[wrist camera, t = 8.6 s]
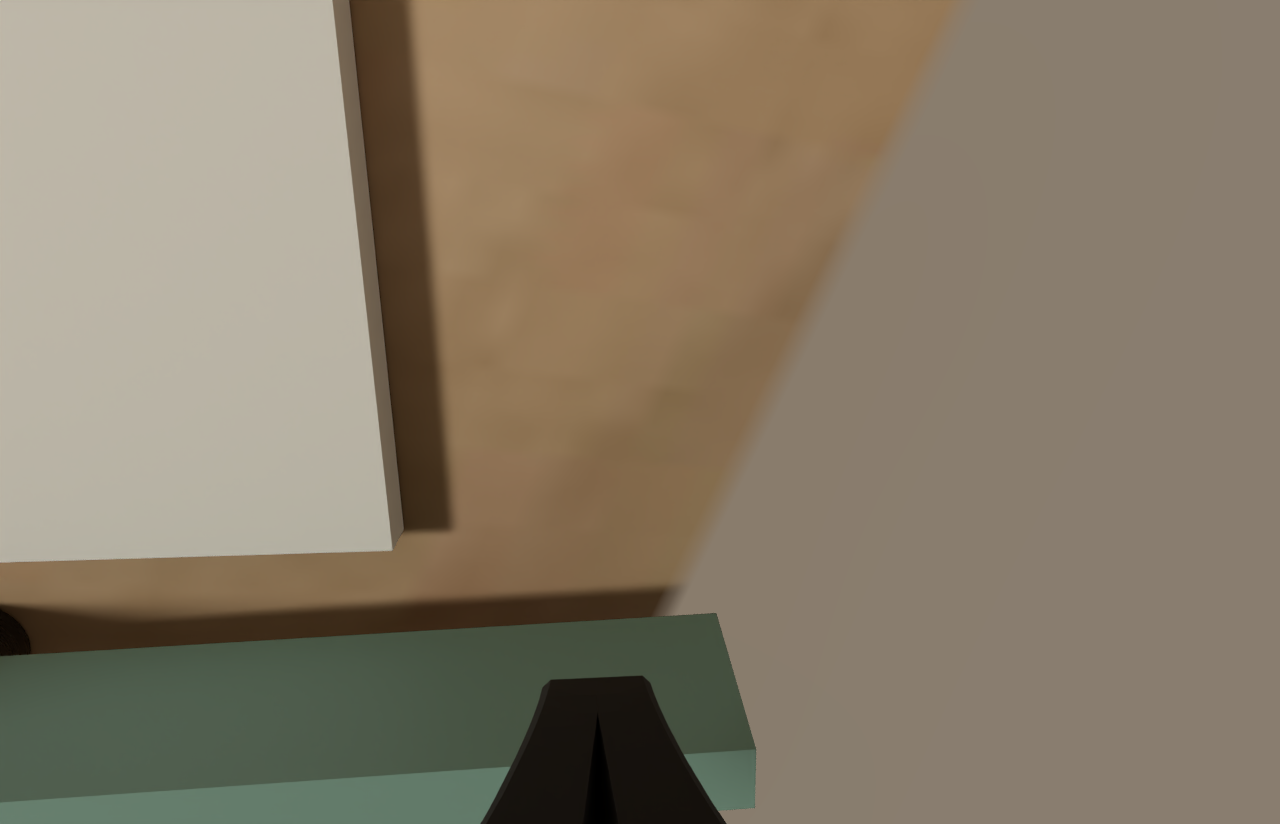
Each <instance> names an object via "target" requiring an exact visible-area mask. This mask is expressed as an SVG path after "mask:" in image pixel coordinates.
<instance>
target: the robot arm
mask: <svg viewBox="0 0 1280 824" xmlns="http://www.w3.org/2000/svg"><path fill="white" fill-rule="evenodd" d="M480 824H726V822H725V821H724V819H723V818H722V816H721V815H720V813H719V812H718V810H717V809H716V807H715V806H714V804H713V803H712V801H711V799H710V798H709V796H708V794H707V793H706V791H705V790H704V788H703V786H702V785H701V783H700V781H699V780H698V778H697V776H696V775H695V773H694V771H693V770H692V768H691V766H690V765H689V763H688V761H687V760H686V758H685V756H684V754H683V752H682V751H681V749H680V747H679V745H678V743H677V741H676V739H675V737H674V736H673V734H672V732H671V730H670V728H669V726H668V724H667V722H666V720H665V718H664V715H663V713H662V711H661V709H660V707H659V704H658V702H657V699H656V697H655V694H654V692H653V689H652V686H651V683H650V682H649V681H648V680H647V679H646V678H645V677H644V676H643V675H641V676H619V677H597V678H575V679H553V680H550V681H549V682H548V683H547V684H545V685H544V686H543V687H542V691H541V694H540V698H539V701H538V704H537V707H536V710H535V713H534V715H533V718H532V721H531V723H530V726H529V728H528V730H527V733H526V735H525V737H524V739H523V742H522V744H521V746H520V748H519V751H518V753H517V755H516V757H515V759H514V761H513V763H512V765H511V767H510V769H509V771H508V773H507V775H506V777H505V779H504V781H503V783H502V785H501V787H500V789H499V791H498V793H497V795H496V797H495V799H494V801H493V802H492V804H491V806H490V808H489V810H488V811H487V813H486V815H485V817H484V818H483V820H482V822H481V823H480Z"/></svg>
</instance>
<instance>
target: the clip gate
mask: <svg viewBox="0 0 1280 824" xmlns="http://www.w3.org/2000/svg"><path fill="white" fill-rule="evenodd" d="M641 675H643V676H644V677H645V678H646V679H647V680H648V681H649V682H650V683H651V686H652V689H653V692H654V694H655V697H656V699H657V702H658V704H659V707H660V709H661V711H662V713H663V715H664V718H665V720H666V722H667V724H668V726H669V728H670V730H671V732H672V734H673V736H674V737H675V739H676V741H677V743H678V745H679V747H680V749H681V751H682V752H683V754H684V756H685V758H686V760H687V761H688V763H689V765H690V766H691V768H692V770H693V771H694V773H695V775H696V776H697V778H698V780H699V781H700V783H701V785H702V786H703V788H704V790H705V791H706V793H707V794H708V796H709V798H710V799H711V801H712V803H713V804H714V806H715V807H716V809H717V810H718V811H720V810H733V809H747V808H755V773H756V747H755V744H754V740H753V737H752V734H751V730H750V727H749V724H748V720H747V717H746V713H745V710H744V706H743V703H742V699H741V696H740V693H739V689H738V686H737V682H736V679H735V676H734V672H733V669H732V665H731V662H730V658H729V655H728V652H727V648H726V645H725V642H724V638H723V635H722V631H721V628H720V624H719V621H718V617H717V614H716V613H711V614H695V615H679V616H662V617H645V618H628V619H612V620H595V621H579V622H562V623H545V624H529V625H512V626H496V627H479V628H462V629H446V630H429V631H413V632H396V633H379V634H363V635H346V636H330V637H313V638H297V639H280V640H263V641H247V642H230V643H214V644H197V645H180V646H164V647H147V648H131V649H114V650H97V651H81V652H64V653H48V654H31V655H14V656H0V824H480V823H481V822H482V820H483V818H484V817H485V815H486V813H487V811H488V810H489V808H490V806H491V804H492V802H493V801H494V799H495V797H496V795H497V793H498V791H499V789H500V787H501V785H502V783H503V781H504V779H505V777H506V775H507V773H508V771H509V769H510V767H511V765H512V763H513V761H514V759H515V757H516V755H517V753H518V751H519V748H520V746H521V744H522V742H523V739H524V737H525V735H526V733H527V730H528V728H529V726H530V723H531V721H532V718H533V715H534V713H535V710H536V707H537V704H538V701H539V698H540V694H541V691H542V687H543V686H544V685H545V684H547V683H548V682H549V681H550V680H553V679H575V678H597V677H619V676H641Z"/></svg>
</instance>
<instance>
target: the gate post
mask: <svg viewBox="0 0 1280 824" xmlns="http://www.w3.org/2000/svg"><path fill="white" fill-rule="evenodd" d="M14 655H30V645H29V640H28V638H27V635H26V633H25V632H24V630H23V629H22V627H21V626H20V625H19V624H18V623H17V622H16V621H15V620H14V619H13V618H12V617H10V616H9V615H8V614H6V613H4V612H2V611H0V656H14Z"/></svg>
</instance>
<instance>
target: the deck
mask: <svg viewBox="0 0 1280 824" xmlns="http://www.w3.org/2000/svg"><path fill="white" fill-rule="evenodd" d="M403 530H404V526H403V516H402V506H401V497H400V487H399V477H398V468H397V458H396V448H395V439H394V429H393V419H392V410H391V400H390V390H389V381H388V371H387V361H386V352H385V342H384V332H383V323H382V313H381V303H380V294H379V284H378V274H377V265H376V255H375V245H374V236H373V226H372V216H371V207H370V197H369V187H368V178H367V168H366V158H365V149H364V139H363V129H362V120H361V110H360V100H359V91H358V81H357V71H356V62H355V52H354V42H353V33H352V23H351V13H350V4H349V0H0V562H33V561H67V560H100V559H133V558H166V557H199V556H233V555H266V554H299V553H332V552H365V551H393V549H394V547H395V545H396V543H397V541H398V539H399V538H400V536H401V534H402V532H403Z"/></svg>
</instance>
